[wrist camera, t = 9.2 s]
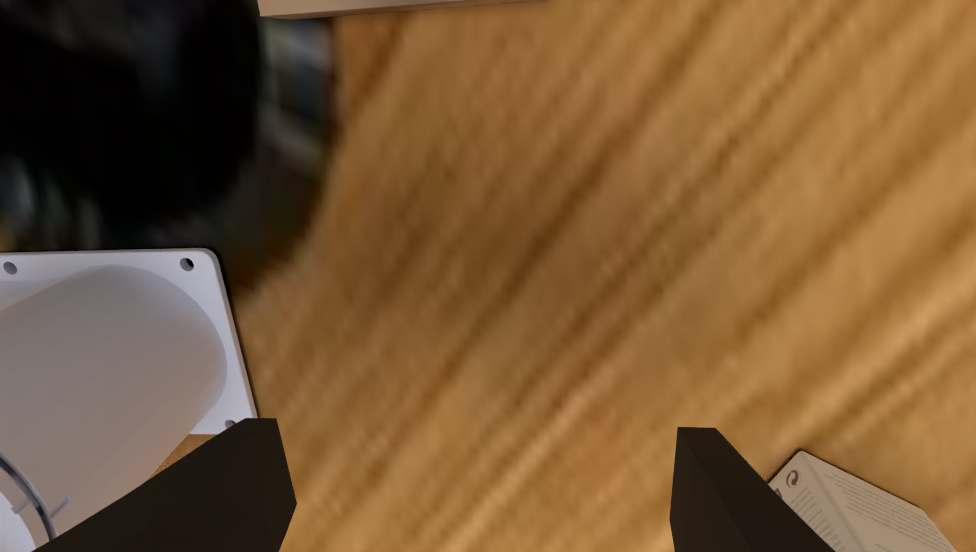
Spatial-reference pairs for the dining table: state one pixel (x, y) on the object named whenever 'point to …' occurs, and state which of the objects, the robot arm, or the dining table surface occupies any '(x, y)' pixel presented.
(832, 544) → the skincare box
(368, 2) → the tower base
